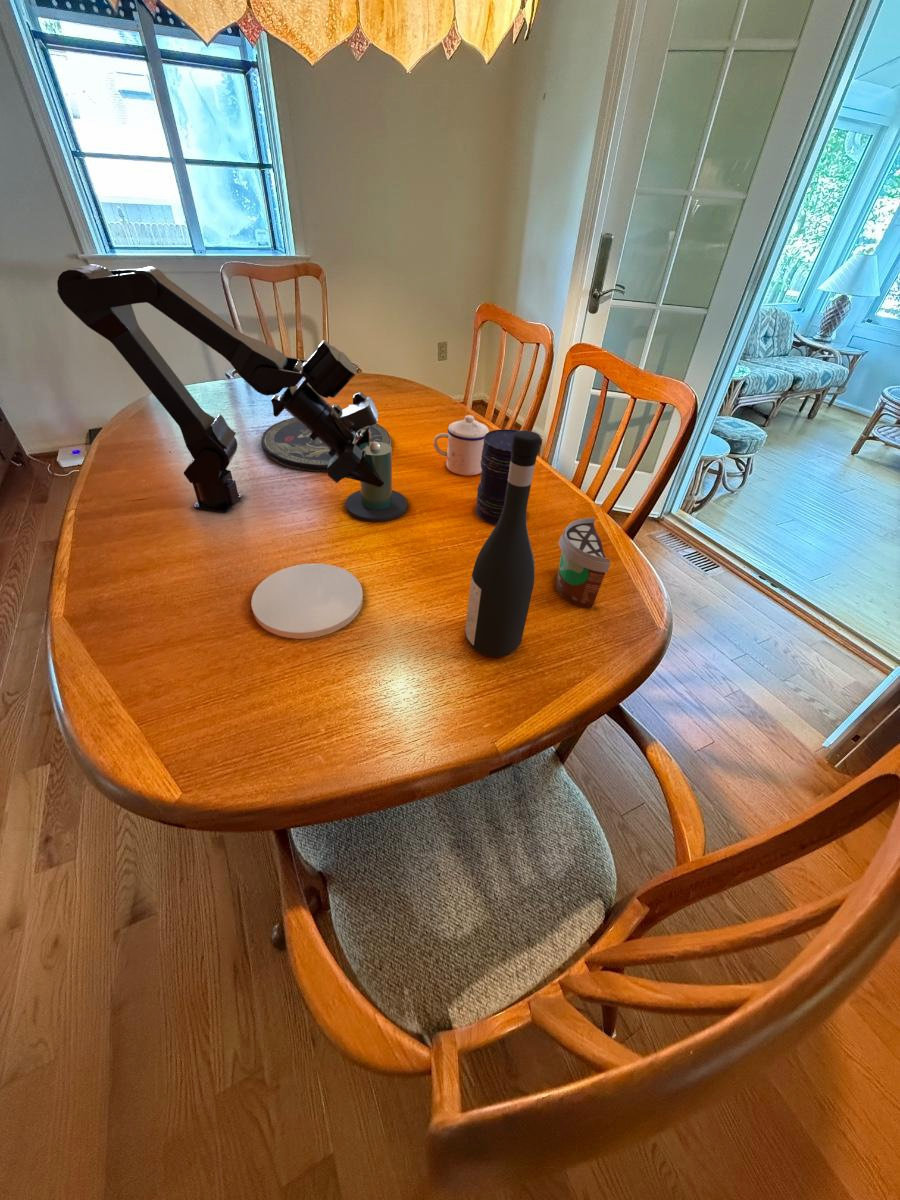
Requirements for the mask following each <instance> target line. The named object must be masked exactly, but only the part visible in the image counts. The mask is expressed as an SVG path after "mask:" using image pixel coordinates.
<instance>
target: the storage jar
mask: <svg viewBox="0 0 900 1200" xmlns="http://www.w3.org/2000/svg"><path fill="white" fill-rule="evenodd" d="M517 431H518V430H516V429H509V428H507V429H506V428H505V429H504V428H503V429H502V428H501V429H494V430H491V431H490V430H489V432H488V433H487V434H485V436H484V444H483V449H482V456H481V458H482V459H481V468H482V472H481V473H480V481H479V483H478V485H477V486H478V487H477V494H476V508H475V513H476V515H477V517H478V518H479V519H481V521H483V522H485V523H487V524H490V525H494V526H496V524H497V522H498V521H499V518H500V516H501V513H502V510H503V506H504V501H505V495H506V488H507V481H508V474H509V467H510V460H511V451H512V450H511V443H512V437H513V434H514V433H515V432H517Z"/></svg>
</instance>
